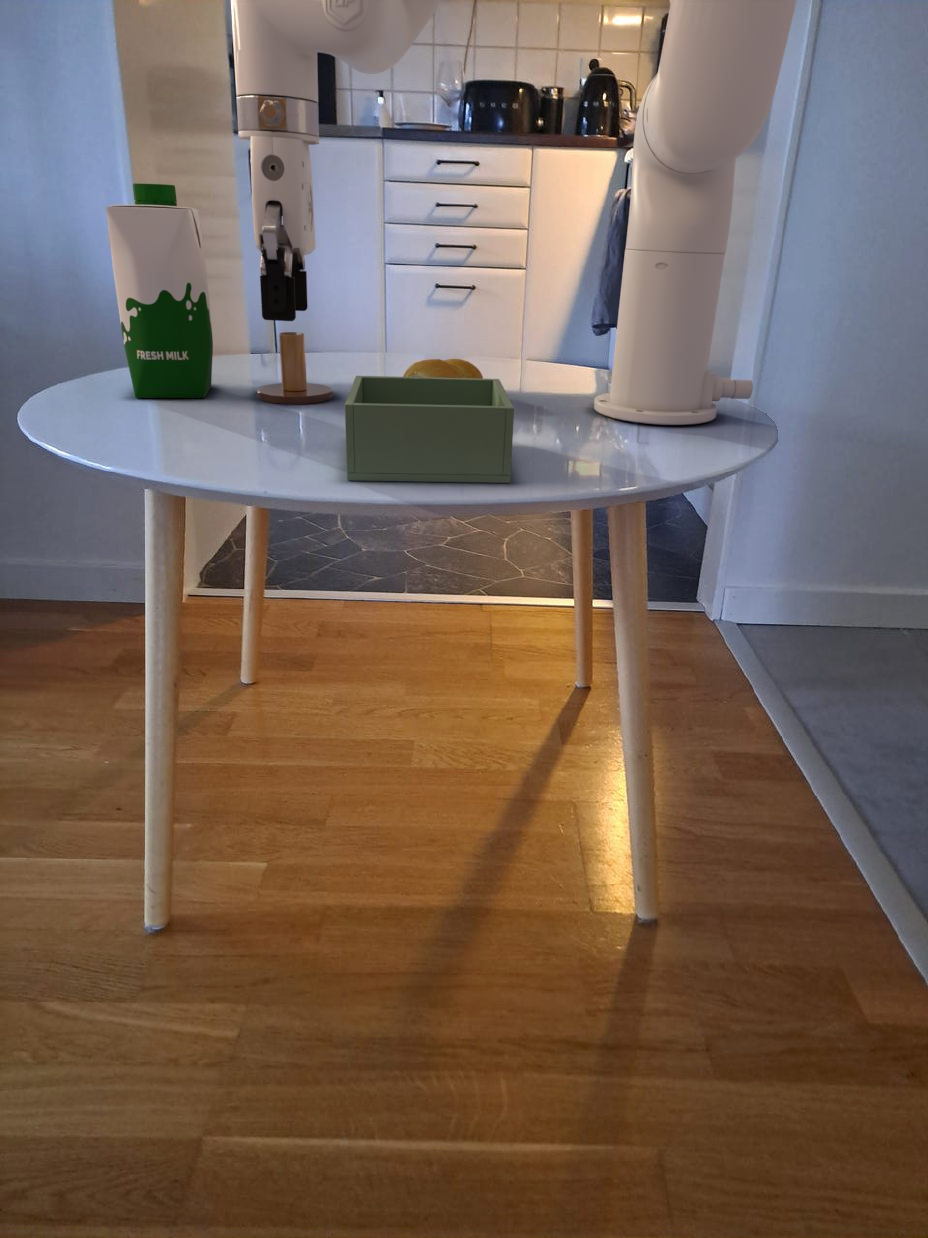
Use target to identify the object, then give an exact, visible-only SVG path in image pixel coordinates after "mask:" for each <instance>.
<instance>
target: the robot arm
mask: <svg viewBox="0 0 928 1238" xmlns="http://www.w3.org/2000/svg"><path fill="white" fill-rule="evenodd" d="M797 1H798V0H669V10H668V15H667V21H666V27H665V32H664V37H663V43H662V49H661V54H660V60H659V65H658V70H657V73H656V75H655V76H654V77H653V78H652V80H651V81H650V83H649V84H648V86H647V87H646V90H645V92H644V94H643V96H642V98H641V101H640V103H639V107H638V110H637V114H636V120H635V125H634V135H633V146H632V166H631V167H632V169H631V171H632V172H631V186H630V198H629V210H628V219H627V220H628V223H627V231H626V241H625V248H624V257H623V267H622V278H621V285H620V296H619V304H618V312H617V313H618V315H617V322H616V323H617V324H616V334H615V342H614V344H615V345H614V352H613V353H614V354H613V362H612V370H611V371H612V372H611V382H610V391H609V392H605V393H602V394H599V395H597V396H596V397H595V398H594V402H593V409H594V410H595V412H597V413H599V414H601V415H603V416H606V417H609V418H611V419H615V420H621V421H626V422H632V423H638V424H639V423H640V424H648V425H660V426H661V425H663V426H686V425H699V424H704V423H709V422H711V421H714V419H716V418H717V413H718V406H717V404H715V403H713V402H719V401H720V400H722V399H723V398H726V399H732V400H749V399H750V398H751V396H752V394H753V388H754V387H753V385H754V384H753V381H752V380H751V379H732V378H731V377H728V378H727V377H722V376H720V375H719V376H717V373H715V372H713V371H712V370H710V369H708V368H709V362H710V354H711V348H712V342H713V335H714V330H715V329H714V328H715V322H716V315H717V308H718V303H719V295H720V288H721V282H722V275H723V270H724V263H725V258H726V257H725V255H726V253H727V247H728V241H729V233H730V228H731V227H730V226H731V219H732V211H733V210H732V209H733V199H734V185H735V172H736V171H735V170H736V160H737V158H738V157H740V156H741V155H742V154H743V153H745V152H746V150H748V149H749V147H750V146H751V145H752V144H753V143H754V141H755V140H756V139H757V137H758V135H759V134H760V132H761V130H762V128H763V127H764V124H765V123H766V120H767V118H768V114H769V112H770V109H771V107H772V103H773V99H774V96H775V92H776V88H777V85H778V80H779V77H780V72H781V68H782V64H783V60H784V55H785V52H786V47H787V43H788V39H789V35H790V30H791V26H792V22H793V17H794V13H795V9H796V6H797ZM442 2H443V0H230V8H231V9H230V11H231V29H232V43H233V60H234V62H233V63H234V77H235V95H236V115H237V130H238V132H237V133H238V139H239V140H243V141H250V142H249V143H250V146H249V147H250V148H249V149H250V158H249V159H250V161H249V162H250V182H251V183H250V184H251V202H252V203H251V204H252V221H253V233H254V243H255V246H256V248H257V250H258V251H259V252H260V255H261V256H260V257H261V258H260V275H259V282H260V300H261V301H260V302H261V303H260V304H261V317H262V319H263V320H265V321H276V322H278V321H279V322H293V321H295V320H296V318H297V312H305V311H307V310H308V280H307V279H308V278H307V277H308V275H307V270H306V260H305V256H307V255H310V254H312V253H313V252H314V251H315V250H316V246H317V244H316V230H315V210H314V191H313V172H312V161H311V152H310V146H314V145H315V146H316V145H319V144H320V122H319V121H320V120H319V118H320V117H319V115H320V114H319V80H318V79H319V78H318V77H319V76H318V75H319V73H318V53H320V54H326V55H330V56H332V57H334V58H336V59H338V60H340V61H342V62H344V63H345V64H346V65H348V66H349V67H350V68H351V69H353V70H355V71H357V72H360V73H361V74H367V75H377V74H381V73H384V72H386V71H388V70H390V69H391V68H393V67H394V66H395V65H396V64H397V63H399V62H400V60H401V59H402V58H403V57H404V56H405V55H406V53H407V52H408V51H409V49H410V48H411V47H412V45H413V44H414V42H415V41H416V40H417V38H418V36H419V35H420V34H421V32H423V30H424V28H425V27H426V25H427V24H428V22H429V21H430V20H431V18H432V16H433V15H434V14H435V12H436V11H437V9H438V8H439V6H440V5H441V3H442Z"/></svg>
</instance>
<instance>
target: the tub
mask: <svg viewBox="0 0 928 1238" xmlns="http://www.w3.org/2000/svg"><path fill="white" fill-rule="evenodd" d="M344 419H345V420H344V426H345V427H344V428H345V455H346V456H345V459H346V460H345V461H346V480H347V481H350V482H351V481H354V482H355V481H356V482H358V481H360V482H361V481H362V482H421V483H423V482H424V483H427V482H428V483H484V484H485V483H486V484H488V483H489V484H491V483H492V484H493V483H494V484H511V475H512V459H513V458H512V457H513V456H512V455H513V438H514V436H513V435H514V421H515V407H514V405H513V403H512V401H511V399H510V397H509V395H508V393H507V391H506V389H505V388H504V386H503V384H502V382H501V380H500V378H483V379H478V378H434V377H403V376H388V375H387V376H386V375H385V376H384V375H355V377H354V380H353V383H352V385H351V388H350V390H349V393H348V395H347V398H346V401H345V403H344Z"/></svg>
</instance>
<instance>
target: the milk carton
mask: <svg viewBox="0 0 928 1238" xmlns="http://www.w3.org/2000/svg"><path fill="white" fill-rule="evenodd" d="M132 190H133V200H134V204H110V205H109V206H105V212H106V218H107V219H106V220H107V226H108V227H107V228H108V230H107V231H108V246H110V251H111V252H110V253H111V254H110V255H111V263H112V272H113V279H114V287H115V292H116V293H115V294H116V300H117V307H118V308H117V309H118V313H119V322H120V329H121V330H120V331H121V335H122V341H123V347H124V352H125V357H126V361H127V365H128V370H129V374H130V379H131V385H132V389H133V393H134V398H135V399H205V398H206V396H207V394H208V393H209V390H210V389H211V388H212V381H213V380H212V379H213V378H212V377H213V376H212V375H213V353H214V341H213V339H214V338H213V327H212V316H211V307H210V297H209V296H210V294H209V285H208V284H209V283H208V273H207V264H206V255H205V249H204V243H203V242H204V241H203V232H202V224H201V219H200V215H199V210H198V209H197V208H193V207H187V206H178V200H177V192H176V185H174V184H161V183H137V182H135V183H132Z"/></svg>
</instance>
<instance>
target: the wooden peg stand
mask: <svg viewBox="0 0 928 1238" xmlns="http://www.w3.org/2000/svg"><path fill="white" fill-rule="evenodd" d="M278 338H279V339H278V342H279V357H280V358H279V359H280V375H281V382H279V383H270V384H265V385H261V386H259V387H257V388H256V398H257V399H258V400H260V401H263V402H266V403H271V404H280V405H307V404H318V403H323V402H327V401H331V400H332V399H333V397H334V396H333V395H334V394H333V388H332V387H330V386H328V385H324V384H320V383H319V384H318V383H311V382H308V381H307V362H306V361H307V360H306V341H305V333H304V332H298V331H297V332H296V331H287V332H286V331H285V332H280V333H278Z"/></svg>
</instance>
